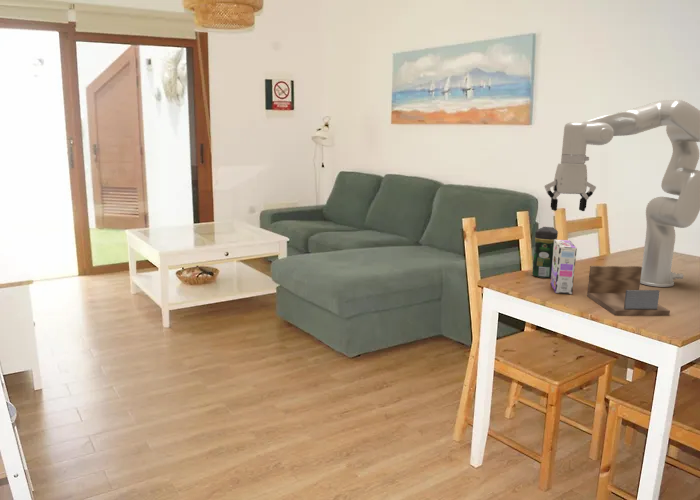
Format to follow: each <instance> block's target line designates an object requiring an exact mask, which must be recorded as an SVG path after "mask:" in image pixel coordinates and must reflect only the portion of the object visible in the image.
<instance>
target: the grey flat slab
mask: <svg viewBox="0 0 700 500" xmlns="http://www.w3.org/2000/svg"><path fill="white" fill-rule="evenodd" d="M659 297H660V290H658V289H639V290H626V295H625V303H624V309H625V310H657V307H658V304H659Z"/></svg>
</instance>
